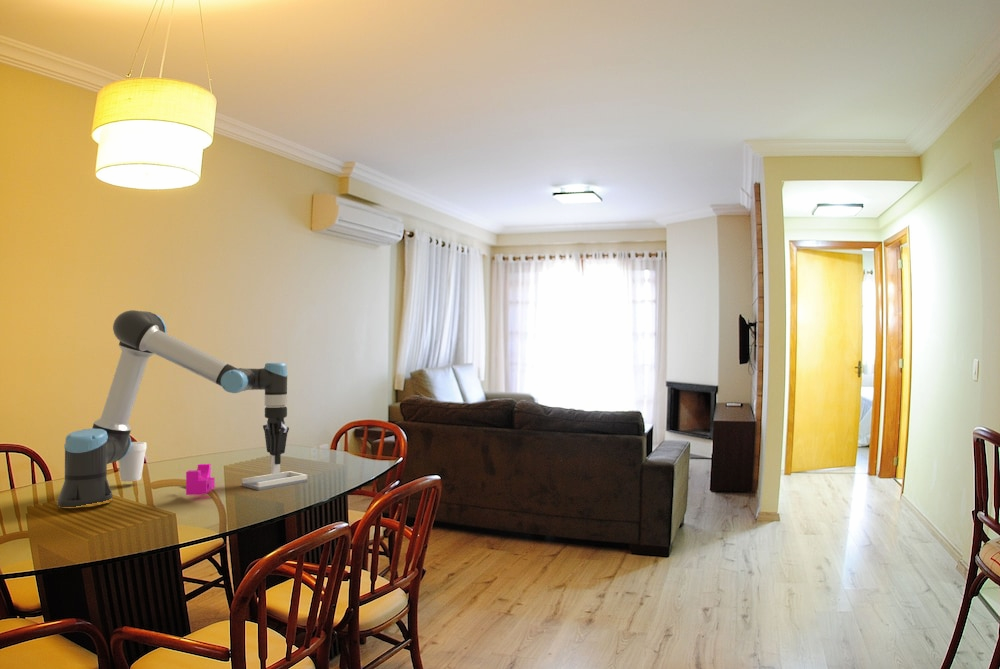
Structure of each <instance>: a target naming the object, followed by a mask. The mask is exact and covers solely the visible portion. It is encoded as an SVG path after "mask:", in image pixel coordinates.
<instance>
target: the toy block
mask: <svg viewBox="0 0 1000 669" xmlns="http://www.w3.org/2000/svg"><path fill="white" fill-rule="evenodd" d="M211 464H212V463H199V464H198V465H197V467H196V468H197V469H195V470H187V471H186V472H185V474H186V475H185V478H186V479H185V495H186V496H193V495H194V496H195V495H196V496H197V495H199V496H200V495H205V494H207V493H209V492H210V491H212V490H213V489H214V488H215V484H216V483H215V480H216V479H215V477H211V476H212V474H211V471H212V470H211V469H212V468H211Z"/></svg>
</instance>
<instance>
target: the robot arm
mask: <svg viewBox="0 0 1000 669" xmlns="http://www.w3.org/2000/svg"><path fill="white" fill-rule="evenodd" d="M112 324H113V325H112V331H113V335H114V337H116V339H117V340H118V341H119V344H118V346H119V349H120V350H121V352H120V357H119V360H118V363H117V366H116V368H115V372H114V375H113V378H112V382H111V385H110V387H109V390H108V394H107V398H106V400H105V404H104V407H103V410H102V413H101V415H100V418H98V419H96V420H94V421H93V425H92V428H85V429H81V430H75V431H72V432H70V433H68V434H67V435H66V436H65V441H64V442H65V443H64V481H63V485H62V487H61V490H60V492H59V494H58V498H57V507H58V506H60V507H76V506H81V505H86V504H92V503H97V502H103V501H106V500H109V499H111V498H112V499H113V493H112V488H111V486H110V484H109V480H108V478H107V476H108V475H107V468H108V467H107V466H108V465H110V464H113V463H116V462H119V461H118V460H120V459H121V458H123V457H124V456H125V455H126V454H127V453H128V451H129V450H130V447H131V442H132V439H131V436H130V435H131V431H132V426H131V425H130V424H129V421H130V418H131V416H132V412H133V408H134V405H135V402H136V399H137V396H138V393H139V390H140V386H141V385H142V384H141V383H142V381H143V377H144V374H145V371H146V368H147V364H148V361H149V360H150V359H149V358H150V357H152V356H153V355H155V356H158V357H160V358H162V359H164V360H166V361H169V362H171V363H173V364H175V365H177V366H180V367H181V368H183V369H184V370H185V369H186V370H187V371H189V372H191V373H193V374H195V375H197V376H200V377H202V378H204V379H206V380H208V381H210V382H212V383H214V384H216V385H218V386H219V387H221V388H222V389H223V390H224V391H225V392H227V393H230V394H231V393H232V394H238V393H241V392H245V391H251V390H252V391H255V390H256V391H257V390H264V406H266V407H265V408H264V418H266V419H267V420H266V422H267V423H266V424H264V425H262V428H263V431H264V438H265V446H266V451H267V453H269V455H270V474H277V473H281V458H282V457H281V456H282V454H285V452H286V446H287V438H288V433H289V430H290V428H289V426H286V425H285V423H286V422H285V418H287V416H288V407H287V405H288V395H287V394H288V367H287V366H288V365H287V364H286V363H284V362H266V363H265V364H264V367H262V368H244V367H240V368H239V367H238V368H237V367H235V366H233V365H231V364H229V363H227V362H225V361H223V360H221V359H219V358H217V357H214V356H213V355H211V354H209V353H207V352H205V351H203V350H201V349H199V348H197V347H194V346H192V345H190V344H189V343H186V342H185V341H183V340H180V339H178V338H176V337H175V336H173V335H170V334H168V333H167V332H168V330H167V329H168V328H167V324H166V323H165V320H164V319H163V318H161V316H159V315H158V314H156V313H153V312H151V311H147V310H146V311H143V310H142V311H141V310H132V309H131V310H126V311H123V312H121V313H120V314H119V315H118V316H117V317H116V318H115V320H114V322H113V323H112ZM60 507H59V508H60Z"/></svg>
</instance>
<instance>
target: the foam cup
mask: <svg viewBox="0 0 1000 669" xmlns="http://www.w3.org/2000/svg"><path fill="white" fill-rule="evenodd" d="M146 452H147V442H145V441H144V442H143V441H131V447H130V450H129V451H128V453H127V454H126V455H125V456H124V457H123V458H121V459H120V460H118V461H117V462H118V468H119V478H120V481H121V482H134V481H135V482H137V481H140V480H142V476H143V469H144V462H145V457H146V456H145V455H146Z"/></svg>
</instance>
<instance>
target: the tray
mask: <svg viewBox="0 0 1000 669" xmlns="http://www.w3.org/2000/svg"><path fill="white" fill-rule="evenodd" d="M307 482H308V474H305V473H301V472H297V471H291V470H289V471H288V470H287V471H282V472H281V471H280V473H277V474H271V473H269V474H263V475H257V476H252V477H251V476H250V477H243V478H241V486H242V487H243V488H248V489H252V490H256V491H262V490H263V491H265V490H269V489H274V488H280V487H286V486H291V485H296V484H297V485H298V484H302V483H303V484H304V483H307Z"/></svg>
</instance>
